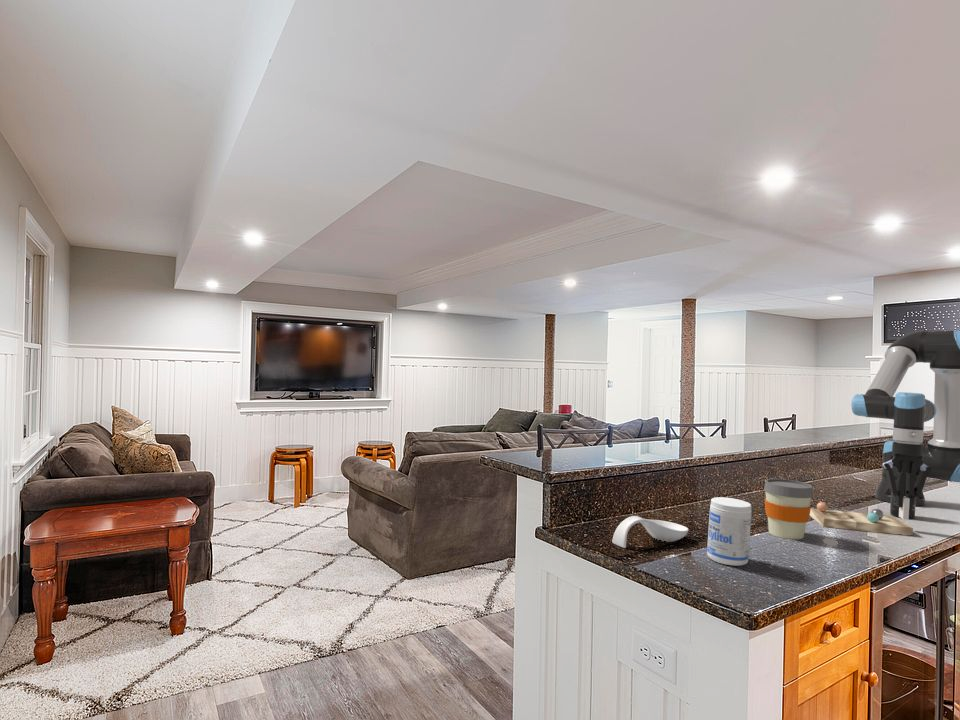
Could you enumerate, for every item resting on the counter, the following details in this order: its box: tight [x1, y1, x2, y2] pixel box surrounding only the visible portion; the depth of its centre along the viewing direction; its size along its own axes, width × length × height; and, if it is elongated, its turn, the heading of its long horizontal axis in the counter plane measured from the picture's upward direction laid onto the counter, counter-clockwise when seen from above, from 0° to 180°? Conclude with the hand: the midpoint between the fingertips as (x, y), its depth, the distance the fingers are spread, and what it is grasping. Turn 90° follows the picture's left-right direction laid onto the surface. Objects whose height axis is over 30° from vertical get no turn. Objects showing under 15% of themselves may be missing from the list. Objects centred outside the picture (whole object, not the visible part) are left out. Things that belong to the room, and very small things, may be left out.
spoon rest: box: [612, 515, 689, 549], centre depth 154 cm, size 24×12×7 cm, turn 121°
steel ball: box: [870, 508, 884, 519], centre depth 177 cm, size 3×3×3 cm
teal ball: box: [867, 512, 879, 523], centre depth 173 cm, size 3×3×3 cm
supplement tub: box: [706, 496, 753, 567], centre depth 141 cm, size 10×10×15 cm
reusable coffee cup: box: [763, 478, 814, 540], centre depth 165 cm, size 13×12×15 cm
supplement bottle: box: [889, 480, 917, 520], centre depth 192 cm, size 7×7×12 cm
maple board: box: [809, 507, 914, 536], centre depth 178 cm, size 24×13×2 cm, turn 76°
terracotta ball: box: [816, 501, 828, 512], centre depth 184 cm, size 3×3×3 cm
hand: (903, 517), depth 175 cm, fingers closed
